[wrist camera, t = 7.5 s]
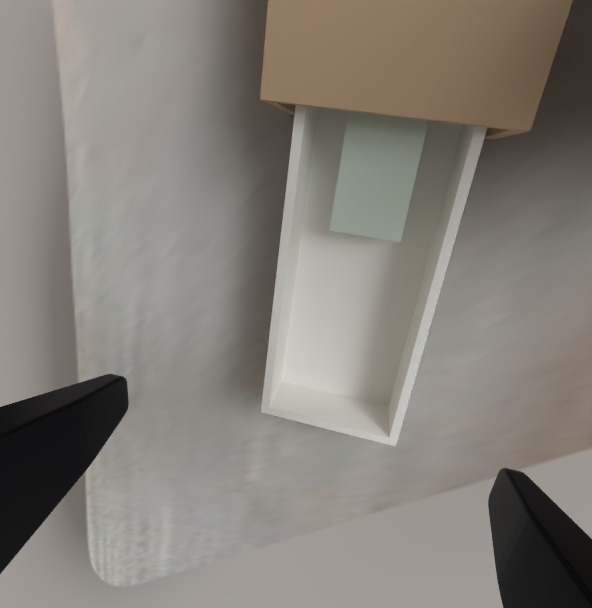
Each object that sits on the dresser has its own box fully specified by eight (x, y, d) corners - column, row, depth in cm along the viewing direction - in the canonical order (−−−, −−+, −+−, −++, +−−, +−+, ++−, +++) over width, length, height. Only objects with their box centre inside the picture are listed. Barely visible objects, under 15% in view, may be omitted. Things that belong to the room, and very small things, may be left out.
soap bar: (426, 114, 15) (431, 108, 14) (399, 234, 17) (400, 242, 16) (354, 105, 16) (350, 99, 14) (334, 224, 18) (329, 230, 16)
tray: (484, 79, 15) (507, 59, 12) (394, 409, 21) (395, 446, 18) (316, 62, 16) (302, 41, 13) (276, 381, 22) (260, 412, 19)
